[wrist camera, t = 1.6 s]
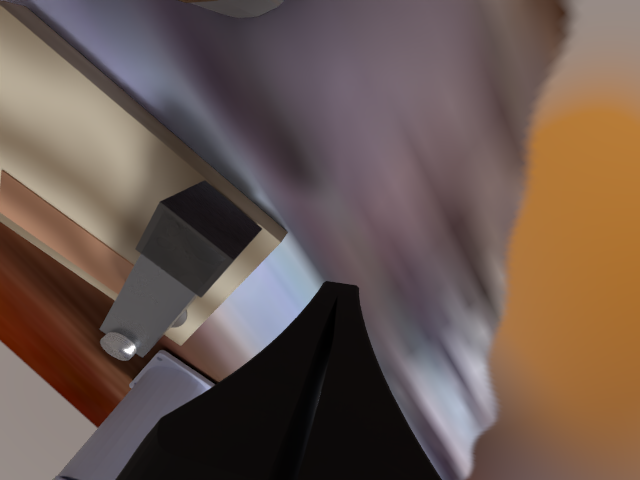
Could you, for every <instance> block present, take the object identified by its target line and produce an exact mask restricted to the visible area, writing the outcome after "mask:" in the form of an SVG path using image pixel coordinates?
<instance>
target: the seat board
mask: <svg viewBox="0 0 640 480" xmlns="http://www.w3.org/2000/svg"><path fill="white" fill-rule="evenodd" d="M204 180H205V181H207V182H208V183H209V184H210V185H211V186H212V187H214V188H215V189H216V190H217V191H218V192H220V193H221V194H222V195H223V196H224V197H225V198H227V199H228V200H229V201H230V202H231V203H233V204H234V205H235V206H236V207H237V208H238V209H240V210H241V211H242V212H243V213H244V214H246V215H247V216H248V217H249V218H250V219H252V220H253V221H254V222H255V223H256V224H257V225H259V226H260V227H261V228H262V230H261V231H260V232H259V233H258V234H257V236H256V237H255V238H254V239H253V240H252V241H251V243H250V244H249V245H248V246H247V247H246V248H245V249H244V251H243V252H242V253H241V254H240V255H239V256H238V257H237V259H236V260H235V261H234V262H233V263H232V264H231V265H230V266H229V268H228V269H227V270H226V271H225V272H224V273H223V274H222V275H221V277H220V278H219V279H218V280H217V281H216V282H215V283H214V284H213V285H212V287H211V288H210V289H209V290H208V291H207V292H206V293H205V294H204V296H203V297H202V298H200V297H199V296H197V297H196V298H195V300H194V301H193V302H192V303H191V304H190V306H189V307H188V308H187V309H186V310H185V311H184V313H183V314H182V315H181V316H180V317H179V318H178V320H177V321H176V322H175V323H174V324H173V325H172V326H171V327H170V329H169V330H168V331H167V332H166V333H165V334H164V335H166V336H167V337H169V338H170V339H172V340H173V341H174V342H176V343H177V344H179V345H180V346H181V345H182V344H183V343H184V342H185V341H186V340H187V339H188V338H189V337H190V336H191V335H192V334H193V333H194V332H195V331H196V330H197V329H198V328H199V326H200V325H201V324H202V323H203V322H204V321H205V320H206V319H207V318H208V317H209V316H210V315H211V314H212V313H213V312H214V311H215V310H216V309H217V308H218V307H219V306H220V305H221V304H222V303H223V302H224V301H225V300H226V299H227V298H228V297H229V295H230V294H231V293H232V292H233V291H234V290H235V289H236V288H237V287H238V286H239V285H240V284H241V283H242V282H243V281H244V280H245V279H246V278H247V277H248V276H249V275H250V274H251V273H252V272H253V271H254V270H255V269H256V268H257V267H258V266H259V265H260V263H261V262H262V261H263V260H264V259H265V258H266V257H267V256H268V255H269V254H270V253H271V252H272V251H273V250H274V249H275V248H276V247H277V246H278V245H279V244H280V243H281V242H282V240H283V239H284V237H285V236H286V234H287V233H288V232H287V231H286V230H284V229H283V228H282V227H281V226H280V225H279V224H277V223H276V222H275V221H274V220H273V219H272V218H270V217H269V216H268V215H267V214H266V213H265V212H263V211H262V210H261V209H260V208H259V207H258V206H257V205H255V204H254V203H253V202H252V201H251V200H250V199H248V198H247V197H246V196H245V195H244V194H243V193H241V192H240V191H239V190H238V189H237V188H236V187H234V186H233V185H232V184H231V183H230V182H229V181H227V180H226V179H225V178H224V177H223V176H222V175H221V174H219V173H218V172H217V171H216V170H215V169H214V168H212V167H211V166H210V165H209V164H208V163H207V162H205V161H204V160H203V159H202V158H201V157H200V156H198V155H197V154H196V153H195V152H194V151H193V150H192V149H190V148H189V147H188V146H187V145H186V144H185V143H183V142H182V141H181V140H180V139H179V138H178V137H176V136H175V135H174V134H173V133H172V132H171V131H169V130H168V129H167V128H166V127H165V126H164V125H163V124H161V123H160V122H159V121H158V120H157V119H156V118H154V117H153V116H152V115H151V114H150V113H149V112H147V111H146V110H145V109H144V108H143V107H142V106H140V105H139V104H138V103H137V102H136V101H135V100H133V99H132V98H131V97H130V96H129V95H128V94H127V93H125V92H124V91H123V90H122V89H121V88H120V87H118V86H117V85H116V84H115V83H114V82H113V81H111V80H110V79H109V78H108V77H107V76H106V75H104V74H103V73H102V72H101V71H100V70H99V69H98V68H96V67H95V66H94V65H93V64H92V63H91V62H89V61H88V60H87V59H86V58H85V57H84V56H82V55H81V54H80V53H79V52H78V51H77V50H75V49H74V48H73V47H72V46H71V45H70V44H69V43H67V42H66V41H65V40H64V39H63V38H62V37H60V36H59V35H58V34H57V33H56V32H55V31H53V30H52V29H51V28H50V27H49V26H48V25H46V24H45V23H44V22H43V21H42V20H41V19H39V18H38V17H37V16H36V15H35V14H34V13H33V12H31V11H30V10H29V9H28V8H27V7H25V6H21V5H17V4H13V3H9V2H5V1H1V0H0V222H2V223H3V224H5V225H6V226H7V227H9V228H10V229H12V230H13V231H15V232H16V233H18V234H19V235H20V236H22V237H23V238H25V239H26V240H28V241H29V242H31V243H32V244H34V245H35V246H36V247H38V248H39V249H41V250H42V251H44V252H45V253H47V254H48V255H50V256H51V257H52V258H54V259H55V260H57V261H58V262H60V263H61V264H63V265H64V266H66V267H67V268H68V269H70V270H71V271H73V272H74V273H76V274H77V275H79V276H80V277H81V278H83V279H84V280H86V281H87V282H89V283H90V284H92V285H93V286H95V287H96V288H97V289H99V290H100V291H102V292H103V293H105V294H106V295H108V296H109V297H111V298H112V299H113V300H116V298H117V296H118V294H119V293H120V291H121V289H122V287H123V285H124V283H125V282H126V280H127V278H128V276H129V274H130V272H131V271H132V269H133V267H134V265H135V263H136V261H137V260H138V258H139V256H140V254H141V253H140V252H138V251H137V250H136V249H135V248H136V246H137V244H138V243H139V241H140V239H141V237H142V235H143V233H144V231H145V229H146V227H147V225H148V223H149V221H150V219H151V217H152V216H153V214H154V212H155V210H156V208H157V206H158V204H159V202H160V201H162V200H164V199H166V198H168V197H170V196H173V195H175V194H177V193H179V192H181V191H183V190H185V189H187V188H189V187H191V186H194V185H196V184H198V183H200V182H202V181H204Z"/></svg>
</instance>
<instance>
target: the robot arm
mask: <svg viewBox="0 0 640 480" xmlns="http://www.w3.org/2000/svg"><path fill="white" fill-rule="evenodd" d="M129 386H130V387H131V388H132V389H131V390H130V391H129V393H128V394H127V395H126V396H125V397H124V398H123V400H122V401H121V402H120V403H119V404H118V405H117V407H116V408H115V409H114V410H113V411H112V413H111V414H110V415H109V416H108V417H107V418H106V420H105V421H104V422H103V423H102V424H101V425H100V427H99V428H98V429H97V430H96V431H95V432H94V434H93V435H92V436H91V437H90V438H89V439H88V441H87V442H86V443H85V444H84V445H83V446H82V448H81V449H80V450H79V451H78V452H77V453H76V455H75V456H74V457H73V458H72V459H71V460H70V462H69V463H68V464H67V465H66V466H65V467H64V469H63V470H62V471H61V472H60V474H58V476H56V477H55V478H54V479H53V480H442V479H441V478H440V476H439V475H438V473H437V472H436V470H435V468H434V467H433V465H432V464H431V462H430V460H429V459H428V457H427V455H426V454H425V452H424V451H423V449H422V447H421V446H420V444H419V442H418V440H417V439H416V437H415V435H414V434H413V432H412V430H411V428H410V427H409V425H408V423H407V421H406V419H405V417H404V415H403V414H402V412H401V410H400V408H399V406H398V404H397V402H396V400H395V398H394V397H393V395H392V393H391V390H390V388H389V386H388V384H387V382H386V380H385V378H384V375H383V373H382V371H381V369H380V366H379V364H378V361H377V359H376V356H375V354H374V351H373V348H372V345H371V343H370V340H369V337H368V334H367V330H366V327H365V323H364V320H363V316H362V311H361V306H360V300H359V288H358V287H357V286H356V285H349V284H342V283H336V282H329V281H326V282H324V283H323V285H322V286H321V288H320V289H319V291H318V292H317V293H316V295H315V296H314V297H313V299H312V300H311V301H310V302H309V304H308V305H307V306H306V307H305V308H304V309H303V311H302V312H301V313H300V314H299V315H298V316H297V318H296V319H295V320H294V321H293V322H292V323H291V324H290V325H289V326H288V327H287V328H286V329H285V330H284V331H283V332H282V333H281V334H280V335H279V336H278V337H277V338H276V339H275V340H273V341H272V342H271V343H270V344H269V345H268V346H267V347H266V348H264V349H263V350H262V351H261V352H260V353H258V354H257V355H256V356H255V357H253V358H252V359H251V360H250V361H248V362H247V363H246V364H244V365H243V366H242V367H240V368H239V369H238V370H236V371H235V372H234V373H232V374H231V375H229V376H228V377H226V378H225V379H223V380H222V381H220V382H219V383H217V384H216V385H215V384H214V383H212V382H211V381H209V380H208V379H206V378H205V377H203V376H202V375H201V374H199V373H198V372H196V371H195V370H193V369H192V368H190V367H189V366H187V365H186V364H184V363H183V362H181V361H180V360H178V359H177V358H175V357H174V356H172V355H171V354H169V353H168V352H166V351H165V350H160V351H159V352H158V353H157V354H156V355H155V356H154V357H153V358H152V359H151V361H150V362H149V363H148V364H147V365H146V366H145V367H144V368H143V370H142V371H141V372H140V373H139V374H138V375H137V376H136V377H135V379H134V380H133V381H132V382H131V383H130V384H129ZM320 393H321V394H320ZM318 400H319V401H318Z"/></svg>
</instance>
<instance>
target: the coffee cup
mask: <svg viewBox="0 0 640 480" xmlns="http://www.w3.org/2000/svg"><path fill="white" fill-rule="evenodd" d="M178 1H182V2H185V3H191V4H194V5H197V6H200V7H203V8H206V9H209V10H211V11H214V12H217V13H221V14H224V15H228V16H231V17H235V18H246V17H258V16H260V15H262V14H264V13H266V12H268V11H271V10H273V9H275V8H277V7H278V6H279V5H280V4H281V3H282V2H283V1H284V0H178Z"/></svg>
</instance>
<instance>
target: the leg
mask: <svg viewBox="0 0 640 480" xmlns="http://www.w3.org/2000/svg"><path fill="white" fill-rule="evenodd" d="M261 230H262V228H261V227H260V226H259V225H257V224H256V223H255V222H254V221H253V220H252V219H250V218H249V217H248V216H247V215H246V214H244V213H243V212H242V211H241V210H240V209H238V208H237V207H236V206H235V205H234V204H233V203H231V202H230V201H229V200H228V199H227V198H225V197H224V196H223V195H222V194H221V193H220V192H218V191H217V190H216V189H215V188H214V187H212V186H211V185H210V184H209V183H208V182H207V181H205V180H204V181H202V182H200V183H198V184H196V185H194V186H191V187H189V188H187V189H185V190H183V191H181V192H179V193H177V194H175V195H173V196H170V197H168V198H166V199H164V200H162V201H160V202H159V204H158V206H157V208H156V210H155V212H154V214H153V216H152V217H151V219H150V221H149V223H148V225H147V227H146V229H145V231H144V233H143V235H142V237H141V239H140V241H139V243H138V244H137V246H136V248H135V249H136V250H137V251H138V252H140V253H141V254H140V256H139V258H138V260H137V261H136V263H135V265H134V267H133V269H132V271H131V272H130V274H129V276H128V278H127V280H126V282H125V283H124V285H123V287H122V289H121V291H120V293H119V294H118V296H117V298H116V300H115V302H114V304H113V305H112V307H111V309H110V311H109V313H108V315H107V316H106V318H105V320H104V322H103V324H102V326H101V327H100V330H101V331H103V332H104V333H106V335H105V336H104V337H103V338H102V339H101V340H100V344H101V346H102V348H103V349H104V350H105V351H106V352H107V353H108V354H110V355H111V356H113V357H114V358H117V359H119V360H123V361H127V360H130V359H131V358H132V357H133V356H134V354H135V353H136V354H138V355H139V356H141V357H142V358H143V357H144V356H145V355H146V354H147V353H148V352H149V350H150V349H151V348H152V347H153V346H154V345H155V344H156V343H157V342H158V341H159V339H160V338H161V337H162V336H163V335H164V334H165V333H166V332H167V331H168V330H169V329H170V327H171V326H172V325H173V324H174V323H175V322H176V321H177V320H178V318H179V317H180V316H181V315H182V314H183V313H184V311H185V310H186V309H187V308H188V307H189V306H190V304H191V303H192V302H193V301H194V300H195V298H196V297H197V296H199V297H200V298H202V297H203V296H204V294H205V293H206V292H207V291H208V290H209V289H210V288H211V287H212V285H213V284H214V283H215V282H216V281H217V280H218V279H219V278H220V277H221V275H222V274H223V273H224V272H225V271H226V270H227V269H228V268H229V266H230V265H231V264H232V263H233V262H234V261H235V260H236V259H237V257H238V256H239V255H240V254H241V253H242V252H243V251H244V249H245V248H246V247H247V246H248V245H249V244H250V243H251V241H252V240H253V239H254V238H255V237H256V236H257V234H258V233H259V232H260V231H261Z"/></svg>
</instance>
